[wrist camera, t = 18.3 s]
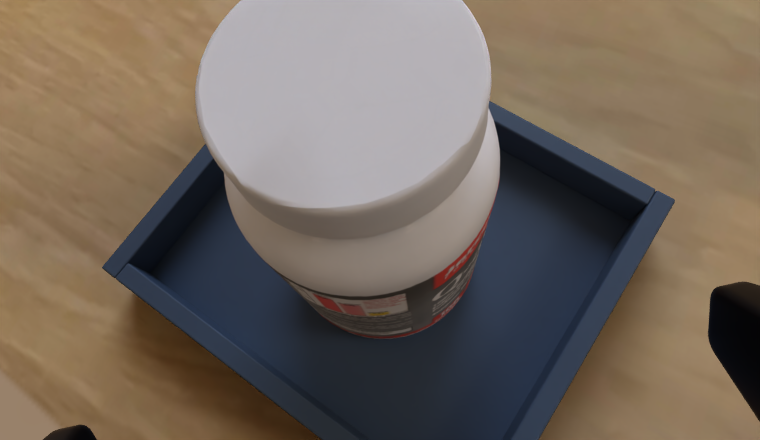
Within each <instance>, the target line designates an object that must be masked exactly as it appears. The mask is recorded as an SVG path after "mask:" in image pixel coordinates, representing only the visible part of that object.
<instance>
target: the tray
mask: <svg viewBox="0 0 760 440" xmlns="http://www.w3.org/2000/svg"><path fill="white" fill-rule="evenodd" d="M488 108H489V110H490V113H491V115H492V118H493V120H494V124H495V127H496V131H497V135H498V142H499V148H500V179H499V186H498V190H497V194H496V197H495V201H494V204H493V208H492V211H491V214H490V217H489V220H488V223H487V227H486V230H485V235H484V237H483V239H482V243H481V246H480V250H479V254H478V257H477V261H476V264H475V267H474V271H473V274H472V277H471V279H470V282H469V284H468V287H467V289H466V290H465V292H464V293H463V295H462V297H461V298H460V299H459V301H458V302H457V303H456V305H455V306H454V307H453V308H452V309H451V310H450V311H449V312H448V313H447V314H446V315H445V316H444V317H443V318H442V319H440V320H439V321H438V322H436V323H435V324H433V325H432V326H430V327H428V328H426V329H424V330H422V331H420V332H417V333H415V334H412V335H409V336H405V337H399V338H393V339H375V338H367V337H363V336H359V335H355V334H352V333H349V332H347V331H345V330H342V329H340V328H339V327H337V326H335V325H333V324H332V323H330V322H329V321H327V320H326V319H325V318H324V317H322V316H321V315H320V314H319V313H318V312H317V311H316V310H315V309H314V308H313V307H312V306H311V305H310V304H309V303H308V302H307V301H306V300H305V299H304V298H303V297H302V296H301V295H299V294H298V293H297V292H296V291H295V290H294V289H293V288H292V287H291V286H290V285H289V284H288V283H287V282H286V281H285V280H283V279H282V278H281V277H280V275H278V274H277V273H276V272H275V271H274V270H273V269H272V268H271V267H270V266H269V265H268V264H267V263H266V262H265V261H264V260H263V259H262V258H261V257H260V256H259V255H258V254H257V253H256V251H255V250H254V249H253V248H252V246H251V245H250V244H249V242H248V241H247V240H246V238H245V237H244V235H243V234H242V232H241V230H240V229H239V227H238V225H237V223H236V221H235V219H234V216H233V214H232V211H231V208H230V205H229V202H228V198H227V193H226V188H225V179H224V172H223V171H222V169H221V168H220V167H219V166H218V164H217V163H216V161H215V160H214V158H213V157H212V155H211V153H210V151H209V149H208V147H207V145H206V144H205V145H204V146H203V147H202V149H201V150H200V151H199V152H198V153H197V155H196V156H195V157H194V158H193V159H192V161H191V162H190V163H189V164H188V165H187V167H186V168H185V169H184V170H183V171H182V173H181V174H180V175H179V176H178V177H177V178H176V180H175V181H174V182H173V183H172V184H171V186H170V187H169V188H168V189H167V190H166V192H165V193H164V194H163V195H162V196H161V198H160V199H159V200H158V201H157V202H156V204H155V205H154V206H153V207H152V208H151V209H150V211H149V212H148V213H147V214H146V215H145V217H144V218H143V219H142V220H141V221H140V223H139V224H138V225H137V226H136V227H135V229H134V230H133V231H132V232H131V233H130V235H129V236H128V237H127V238H126V239H125V240H124V242H123V243H122V244H121V245H120V246H119V248H118V249H117V250H116V251H115V252H114V254H113V255H112V256H111V257H110V258H109V260H108V261H107V262H106V263H105V264H104V266H103V267H102V268H103V269H104V270H105V271H106V272H107V273H109V274H110V275H111V276H113V277H114V278H116V279H117V280H118V281H119V282H120V283H122V284H123V285H124V286H125V287H127V288H128V289H129V290H131V291H132V292H133V293H134V294H136V295H137V296H138V297H140V298H141V299H142V300H143V301H145V302H146V303H147V304H148V305H150V306H151V307H152V308H154V309H155V310H156V311H157V312H159V313H160V314H161V315H163V316H164V317H165V318H166V319H168V320H169V321H170V322H172V323H173V324H174V325H175V326H177V327H178V328H179V329H181V330H182V331H183V332H184V333H186V334H187V335H188V336H190V337H191V338H192V339H193V340H195V341H196V342H197V343H199V344H200V345H201V346H202V347H204V348H205V349H206V350H208V351H209V352H210V353H211V354H213V355H214V356H215V357H217V358H218V359H219V360H220V361H222V362H223V363H224V364H225V365H227V366H228V367H229V368H231V369H232V370H233V371H234V372H236V373H237V374H238V375H240V376H241V377H242V378H243V379H245V380H246V381H247V382H249V383H250V384H251V385H252V386H254V387H255V388H256V389H258V390H259V391H260V392H261V393H263V394H264V395H265V396H267V397H268V398H269V399H270V400H272V401H273V402H274V403H276V404H277V405H278V406H279V407H281V408H282V409H283V410H285V411H286V412H287V413H288V414H290V415H291V416H292V417H293V418H295V419H296V420H297V421H299V422H300V423H301V424H302V425H304V426H305V427H306V428H308V429H309V430H310V431H311V432H313V433H314V434H315V435H317V436H318V437H319V438H320V439H322V440H539V438H540V436H541V434H542V433H543V431H544V429H545V427H546V426H547V424H548V422H549V420H550V419H551V417H552V415H553V413H554V412H555V410H556V408H557V406H558V405H559V403H560V401H561V399H562V398H563V396H564V394H565V393H566V391H567V389H568V387H569V386H570V384H571V382H572V380H573V379H574V377H575V375H576V373H577V372H578V370H579V368H580V366H581V365H582V363H583V361H584V359H585V358H586V356H587V354H588V352H589V351H590V349H591V347H592V345H593V344H594V342H595V340H596V338H597V337H598V335H599V333H600V331H601V330H602V328H603V326H604V324H605V323H606V321H607V319H608V317H609V316H610V314H611V312H612V310H613V309H614V307H615V305H616V304H617V302H618V300H619V298H620V297H621V295H622V293H623V291H624V290H625V288H626V286H627V284H628V283H629V281H630V279H631V277H632V276H633V274H634V272H635V270H636V269H637V267H638V265H639V263H640V262H641V260H642V258H643V256H644V255H645V253H646V251H647V249H648V248H649V246H650V244H651V242H652V241H653V239H654V237H655V235H656V234H657V232H658V230H659V228H660V227H661V225H662V223H663V222H664V220H665V218H666V216H667V215H668V213H669V211H670V209H671V208H672V206H673V204H674V202H675V200H674V199H673V198H671V197H669V196H667V195H665V194H663V193H661V192H659V191H656V192H655V189H654V188H652V187H650V186H648V185H646V184H644V183H643V182H641V181H639V180H637V179H635V178H633V177H631V176H629V175H627V174H626V173H624V172H622V171H620V170H618V169H616V168H614V167H612V166H611V165H609V164H607V163H605V162H603V161H601V160H599V159H597V158H596V157H594V156H592V155H590V154H588V153H586V152H584V151H582V150H581V149H579V148H577V147H575V146H573V145H571V144H569V143H567V142H566V141H564V140H562V139H560V138H558V137H556V136H554V135H552V134H551V133H549V132H547V131H545V130H543V129H541V128H539V127H537V126H535V125H534V124H532V123H530V122H528V121H526V120H524V119H522V118H520V117H519V116H517V115H515V114H513V113H511V112H509V111H507V110H505V109H504V108H502V107H500V106H498V105H496V104H494V103H492V102H490V101H489V106H488Z"/></svg>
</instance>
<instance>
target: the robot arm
mask: <svg viewBox="0 0 760 440" xmlns="http://www.w3.org/2000/svg"><path fill="white" fill-rule="evenodd" d="M708 337H709V342H710V345H711V348H712V350H713V352H714V353H715V355H716V356H717V358H718V359H719V361H720V362H721V364H722V365H723V367H724V368H725V370H726V371H727V373H728V374H729V376H730V377H731V379H732V380H733V382H734V384H735V385H736V387H737V388H738V390H739V391H740V393H741V394H742V396H743V397H744V399H745V400H746V402H747V403H748V405H749V406H750V408H751V409H752V411H753V412H754V414H755V415H756V417H757V418H758V420H759V421H760V286H759V285H756V284H752V283H749V282H737V283H733V284H728V285H723V286H719V287H717V288H715V289H714V290H713V292H712V293H711V298H710V312H709V328H708ZM43 440H97V439H96V438H95V436H94V434H93V433H92V431H91V430H90V428H88V427H87V426H85V425H76V426H71V427H67V428H62V429H58V430H55V431H53V432H52V433H50V434H49V435H48V436H47V437H45V438H44V439H43Z"/></svg>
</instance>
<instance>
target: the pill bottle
mask: <svg viewBox="0 0 760 440" xmlns="http://www.w3.org/2000/svg"><path fill="white" fill-rule="evenodd" d="M490 92H491V65H490V57H489V52H488V48H487V45H486V41H485V38H484V36H483V33H482V31H481V28H480V26H479V25H478V23H477V21H476V19H475V18H474V16H473V14H472V13H471V11H470V10H469V9H468V7H467V6H466V5H465V3H464V2H463V1H462V0H241V1H240V2H239V3H238V4H237V5H236V6H235V7H234V8H233V9H232V10H231V11H230V12H229V14H228V15H226V17H225V18H224V19H223V21H222V22H221V23H220V24H219V26H218V27H217V29H216V30H215V32H214V34H213V35H212V37H211V39H210V40H209V43H208V45H207V47H206V50H205V52H204V54H203V56H202V59H201V62H200V66H199V72H198V75H197V80H196V91H195V98H196V112H197V118H198V123H199V126H200V130H201V133H202V136H203V138H204V141H205V143H206V145H207V147H208V149H209V151H210V153H211V155H212V157H213V158H214V160H215V161H216V163H217V164H218V166H219V167H220V168H221V169H222V171H223V172H224V179H225V188H226V193H227V198H228V202H229V205H230V208H231V211H232V214H233V216H234V219H235V221H236V223H237V225H238V227H239V229H240V230H241V232H242V234H243V235H244V237H245V238H246V240H247V241H248V242H249V244H250V245H251V246H252V248H253V249H254V250H255V251H256V253H257V254H258V255H259V256H260V257H261V258H262V259H263V260H264V261H265V262H266V263H267V264H268V265H269V266H270V267H271V268H272V269H273V270H274V271H275V272H276V273H277V274H278V275H280V277H281V278H282V279H283V280H285V281H286V282H287V283H288V284H289V285H290V286H291V287H292V288H293V289H294V290H295V291H296V292H297V293H298V294H299V295H301V296H302V297H303V298H304V299H305V300H306V301H307V302H308V303H309V304H310V305H311V306H312V307H313V308H314V309H315V310H316V311H317V312H318V313H319V314H320V315H321V316H322V317H324V318H325V319H326V320H327V321H329V322H330V323H332V324H333V325H335V326H337V327H339V328H340V329H342V330H345V331H347V332H349V333H352V334H355V335H359V336H363V337H367V338H375V339H393V338H399V337H405V336H409V335H412V334H415V333H417V332H420V331H422V330H424V329H426V328H428V327H430V326H432V325H433V324H435V323H436V322H438V321H439V320H440V319H442V318H443V317H444V316H445V315H446V314H447V313H448V312H449V311H450V310H451V309H452V308H453V307H454V306H455V305H456V303H457V302H458V301H459V299H460V298H461V297H462V295H463V293H464V292H465V290H466V289H467V287H468V284H469V282H470V279H471V277H472V274H473V271H474V267H475V264H476V261H477V257H478V254H479V250H480V246H481V243H482V239H483V237H484V235H485V230H486V227H487V223H488V220H489V217H490V214H491V211H492V208H493V204H494V201H495V197H496V194H497V190H498V186H499V179H500V148H499V142H498V135H497V131H496V127H495V124H494V120H493V118H492V115H491V113H490V110H489V108H488V106H489V100H490Z"/></svg>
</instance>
